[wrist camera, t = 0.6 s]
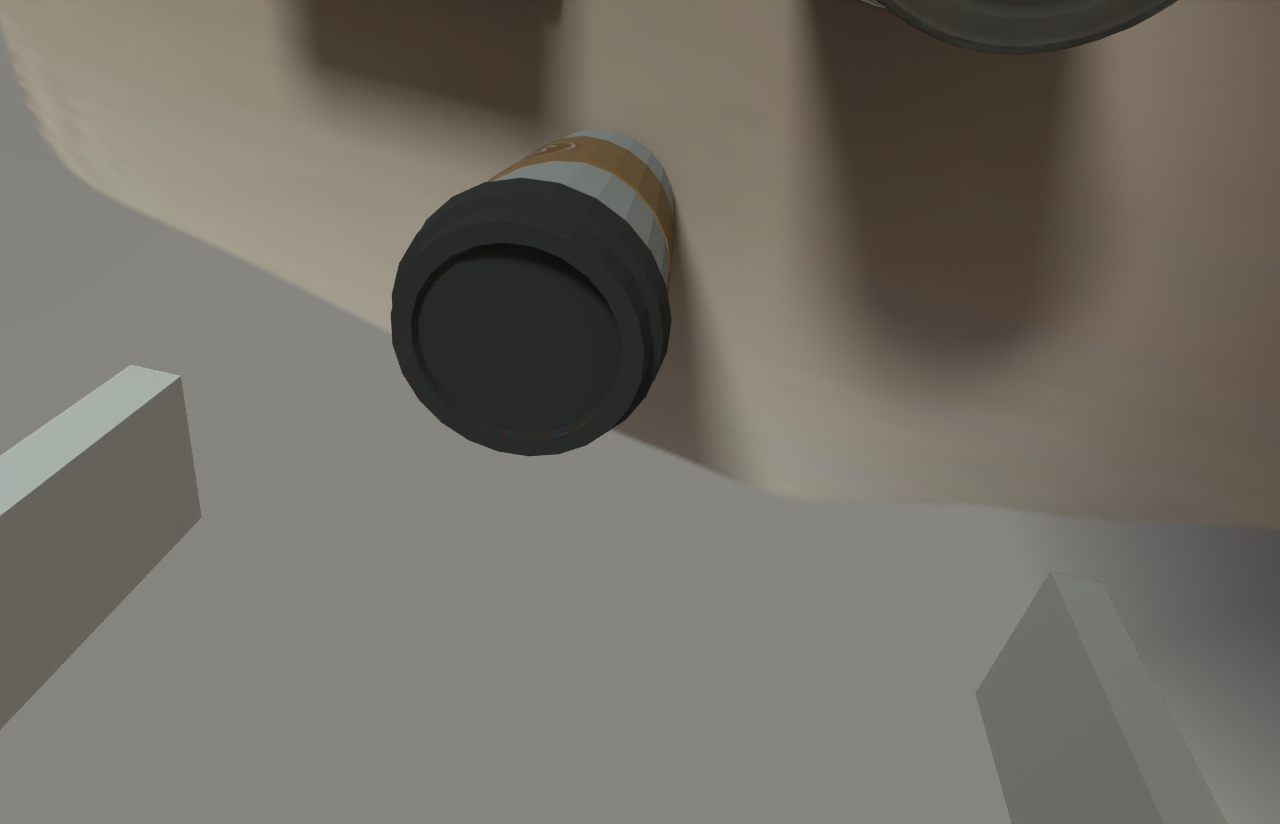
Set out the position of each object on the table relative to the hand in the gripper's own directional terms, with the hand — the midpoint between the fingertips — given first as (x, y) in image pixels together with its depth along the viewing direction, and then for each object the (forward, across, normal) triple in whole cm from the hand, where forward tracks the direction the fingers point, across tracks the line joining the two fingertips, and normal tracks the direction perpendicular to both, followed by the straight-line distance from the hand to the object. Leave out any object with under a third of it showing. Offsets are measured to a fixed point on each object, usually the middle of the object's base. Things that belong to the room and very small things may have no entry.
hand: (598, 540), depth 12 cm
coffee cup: (+25, -4, -3) cm, 26 cm away
